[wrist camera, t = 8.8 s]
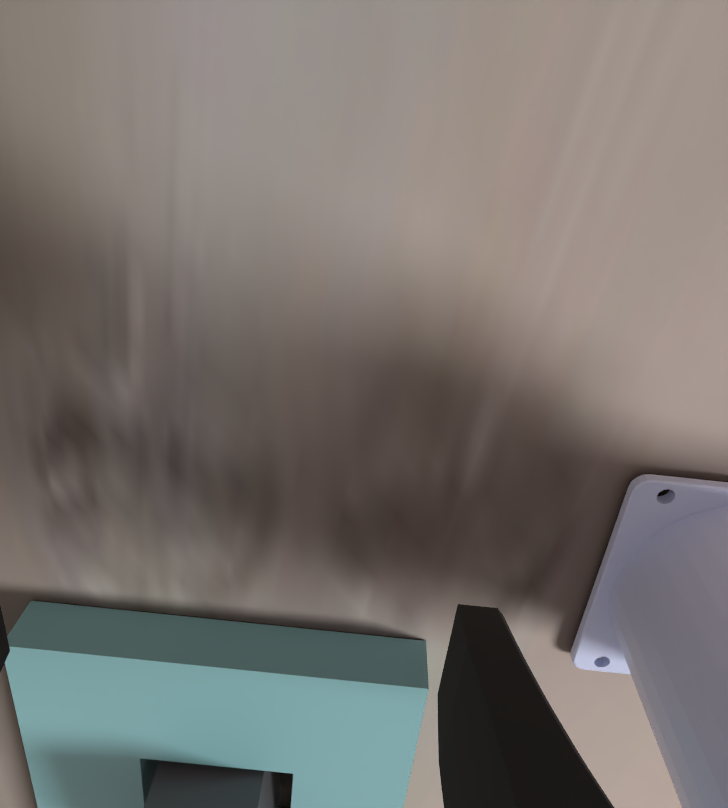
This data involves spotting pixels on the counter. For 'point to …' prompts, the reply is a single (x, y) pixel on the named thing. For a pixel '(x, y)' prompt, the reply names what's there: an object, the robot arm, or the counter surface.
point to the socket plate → (211, 705)
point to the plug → (212, 787)
